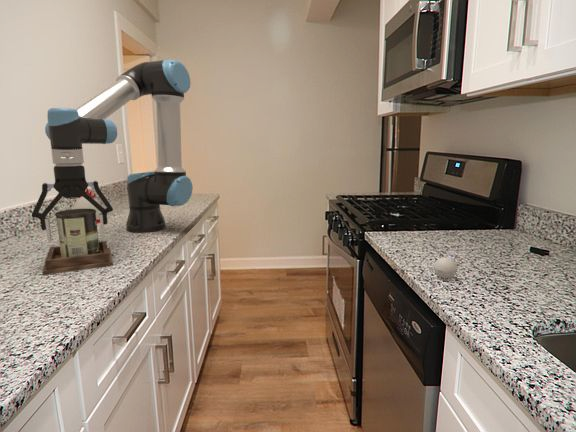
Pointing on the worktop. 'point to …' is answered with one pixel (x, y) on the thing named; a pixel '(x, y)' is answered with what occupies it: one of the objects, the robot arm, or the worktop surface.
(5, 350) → the worktop surface
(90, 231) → the coffee can
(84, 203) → the kitchen timer
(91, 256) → the can holder
